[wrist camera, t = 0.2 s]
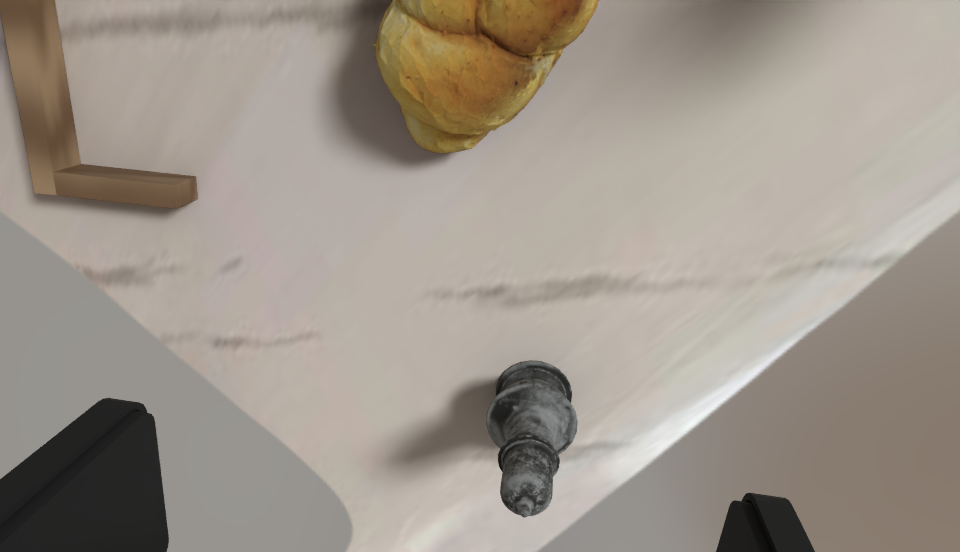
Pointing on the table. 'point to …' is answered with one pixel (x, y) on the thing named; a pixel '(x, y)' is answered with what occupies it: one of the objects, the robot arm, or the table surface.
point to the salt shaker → (530, 432)
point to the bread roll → (471, 61)
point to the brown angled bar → (68, 120)
